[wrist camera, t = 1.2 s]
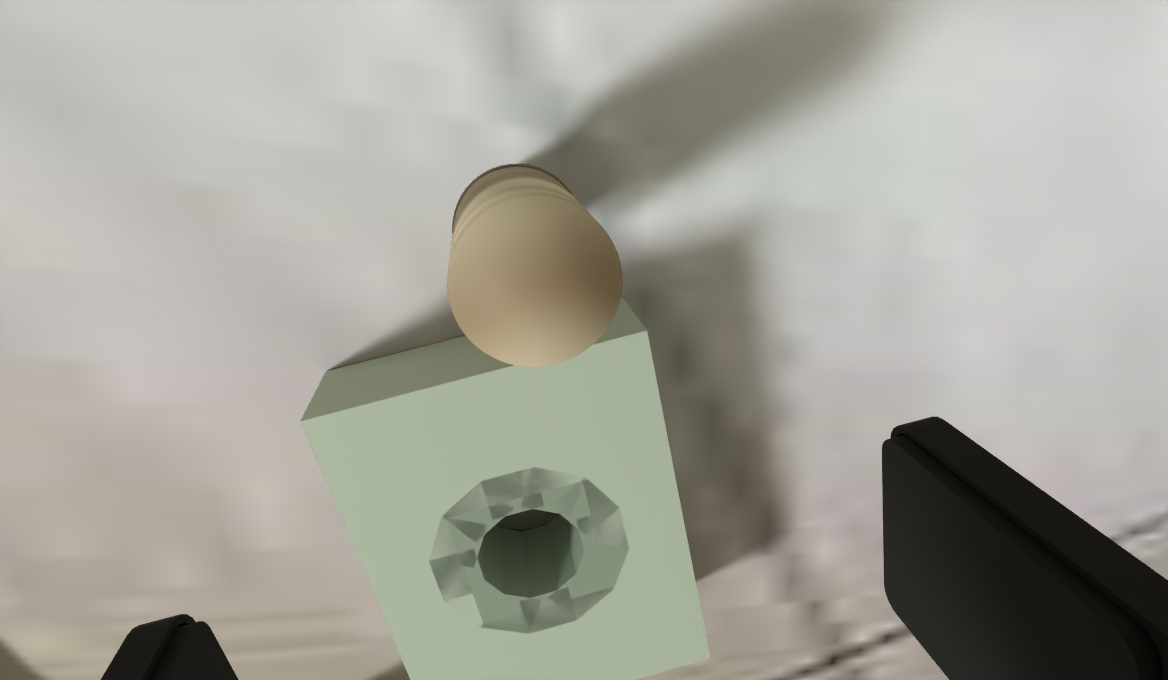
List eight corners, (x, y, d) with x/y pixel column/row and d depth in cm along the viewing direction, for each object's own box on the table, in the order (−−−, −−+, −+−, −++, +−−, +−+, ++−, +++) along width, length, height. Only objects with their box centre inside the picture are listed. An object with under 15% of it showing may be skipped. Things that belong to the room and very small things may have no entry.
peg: (440, 168, 29) (421, 220, 17) (553, 141, 29) (604, 176, 18) (472, 277, 30) (473, 387, 19) (577, 251, 31) (638, 344, 20)
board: (325, 371, 31) (300, 421, 26) (621, 295, 32) (647, 330, 27) (440, 659, 37) (435, 739, 33) (681, 589, 38) (710, 657, 34)
